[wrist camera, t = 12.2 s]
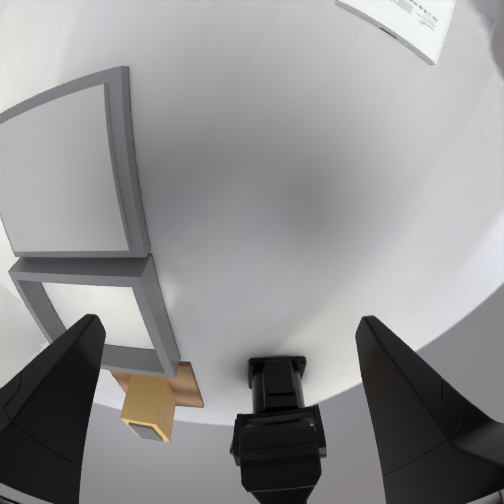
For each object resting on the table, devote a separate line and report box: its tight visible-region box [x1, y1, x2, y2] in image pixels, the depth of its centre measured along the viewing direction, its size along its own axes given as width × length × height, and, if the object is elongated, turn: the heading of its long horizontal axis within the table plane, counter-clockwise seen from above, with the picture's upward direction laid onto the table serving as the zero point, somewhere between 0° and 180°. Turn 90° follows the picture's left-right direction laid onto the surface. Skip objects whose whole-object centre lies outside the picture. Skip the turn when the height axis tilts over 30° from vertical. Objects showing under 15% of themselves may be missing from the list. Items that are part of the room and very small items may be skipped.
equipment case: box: [0, 66, 180, 379], centre depth 19 cm, size 28×16×3 cm, turn 0°
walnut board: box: [109, 362, 204, 408], centre depth 32 cm, size 12×12×1 cm
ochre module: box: [120, 374, 176, 442], centre depth 29 cm, size 7×4×7 cm, turn 179°
